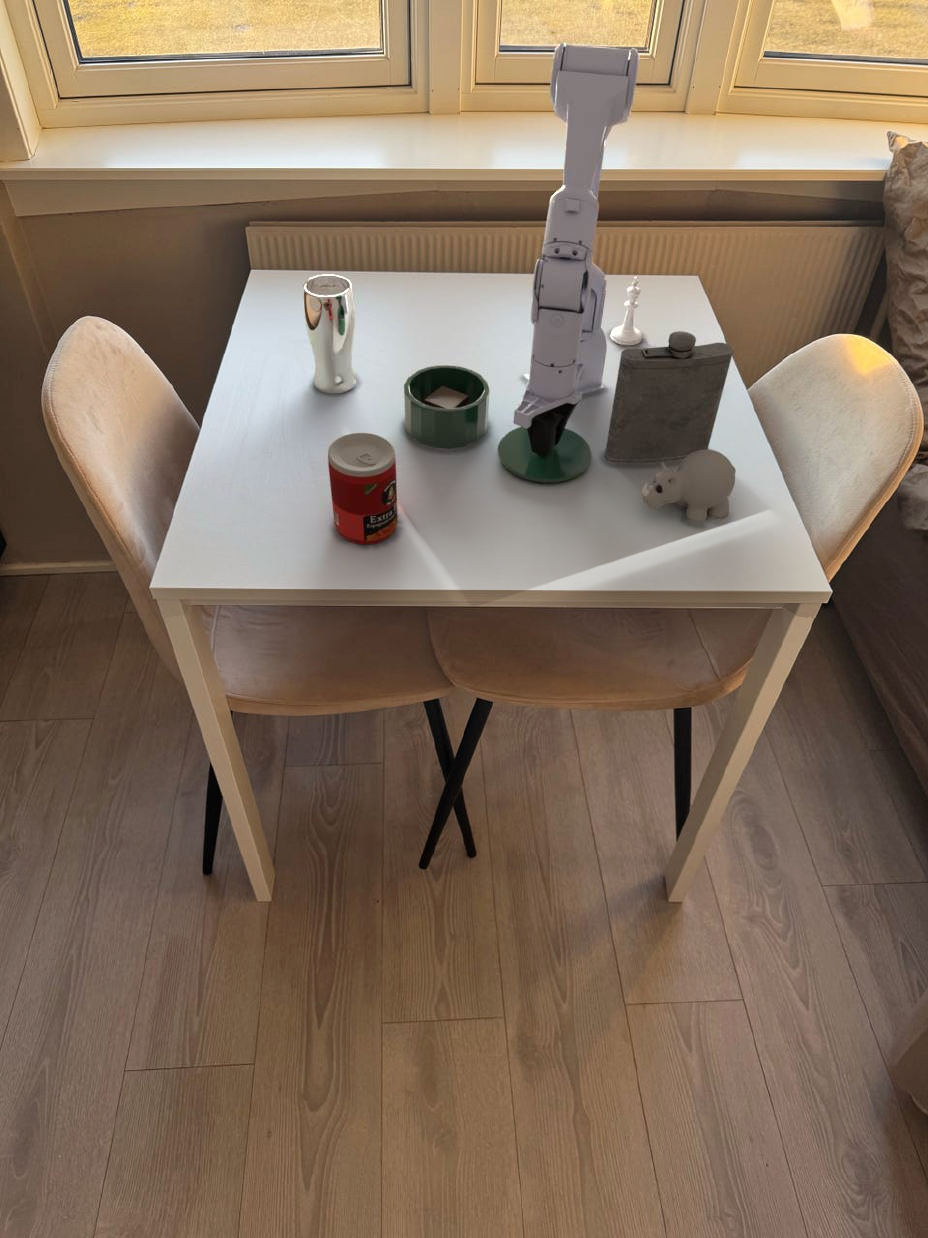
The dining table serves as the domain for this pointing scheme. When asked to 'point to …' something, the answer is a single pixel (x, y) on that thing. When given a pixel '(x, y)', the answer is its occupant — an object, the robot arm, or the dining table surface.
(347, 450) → the canned food
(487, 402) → the pot
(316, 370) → the beer glass
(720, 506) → the toy rhinoceros
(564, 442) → the lid
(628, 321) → the chess piece
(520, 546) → the dining table surface
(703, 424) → the flask
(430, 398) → the block
